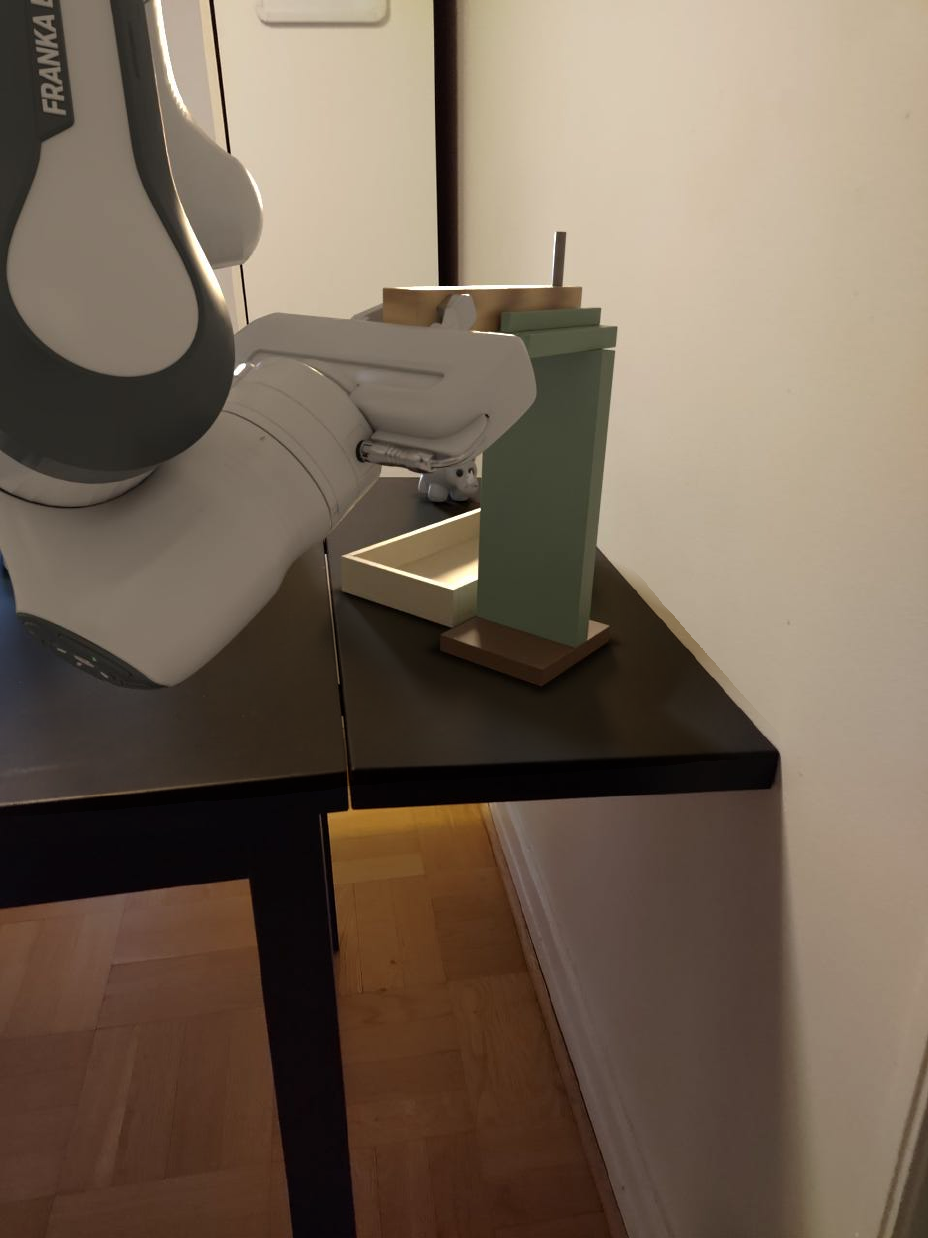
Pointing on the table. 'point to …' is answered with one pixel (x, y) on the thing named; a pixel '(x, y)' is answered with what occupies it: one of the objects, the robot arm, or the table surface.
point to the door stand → (544, 505)
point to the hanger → (483, 298)
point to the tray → (421, 571)
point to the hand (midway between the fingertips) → (438, 302)
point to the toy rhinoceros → (450, 483)
